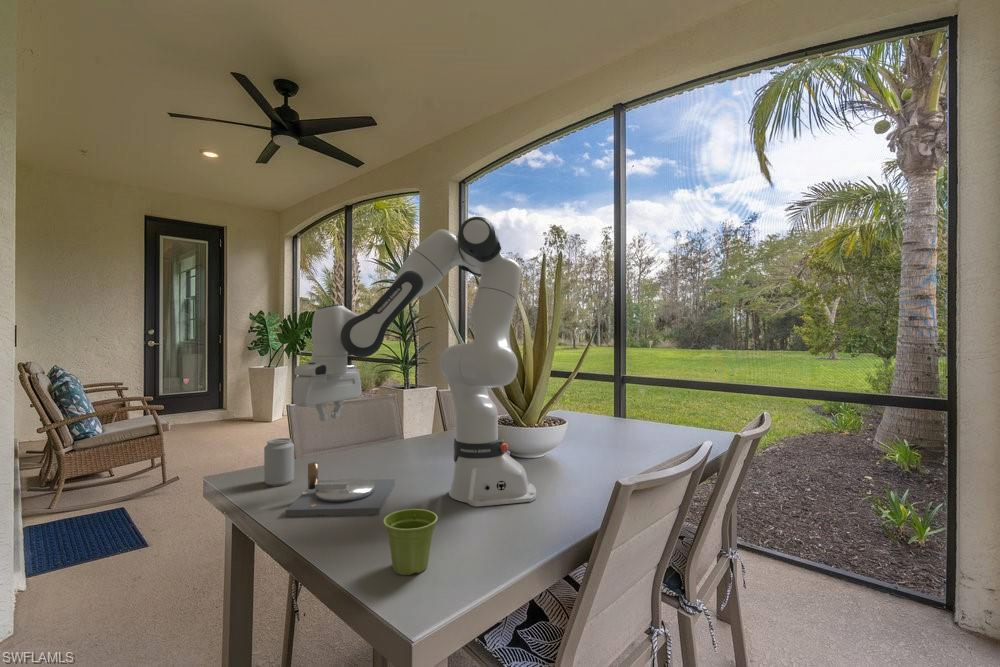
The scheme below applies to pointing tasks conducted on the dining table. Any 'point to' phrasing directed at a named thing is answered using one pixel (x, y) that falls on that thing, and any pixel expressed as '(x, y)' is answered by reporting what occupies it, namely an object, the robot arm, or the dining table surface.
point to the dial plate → (363, 506)
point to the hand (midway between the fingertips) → (329, 419)
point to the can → (278, 462)
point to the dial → (338, 487)
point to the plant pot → (410, 539)
